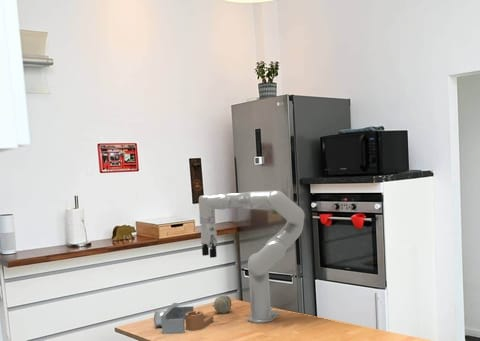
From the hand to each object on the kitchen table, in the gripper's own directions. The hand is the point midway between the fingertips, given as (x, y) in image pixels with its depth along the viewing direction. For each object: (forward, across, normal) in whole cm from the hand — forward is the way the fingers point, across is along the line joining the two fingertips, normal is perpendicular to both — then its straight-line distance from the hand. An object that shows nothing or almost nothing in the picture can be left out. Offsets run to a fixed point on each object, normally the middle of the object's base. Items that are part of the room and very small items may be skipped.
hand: (209, 256), depth 231 cm
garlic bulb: (+32, +14, -11) cm, 36 cm away
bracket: (+32, 0, +7) cm, 33 cm away
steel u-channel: (+32, +7, +19) cm, 37 cm away
